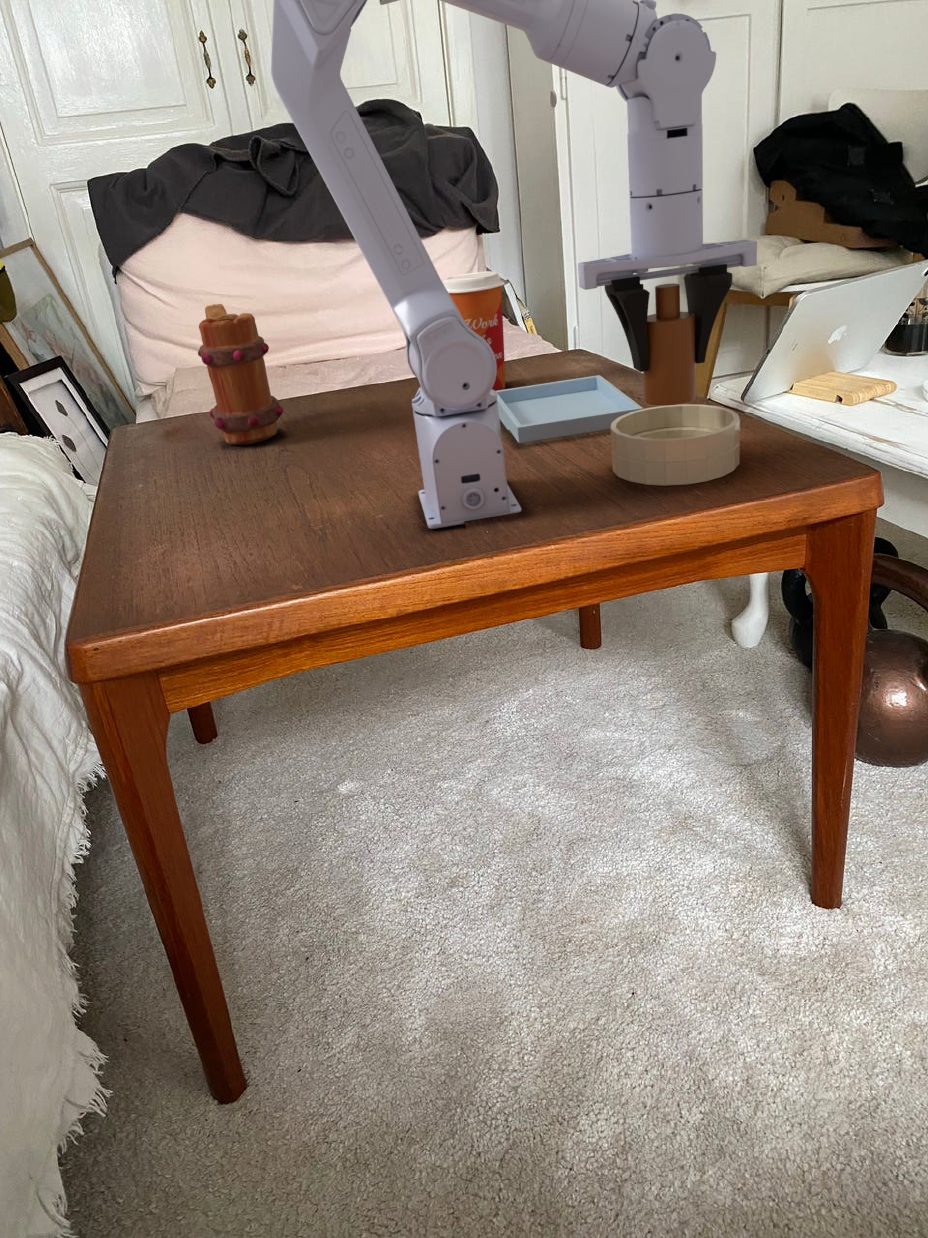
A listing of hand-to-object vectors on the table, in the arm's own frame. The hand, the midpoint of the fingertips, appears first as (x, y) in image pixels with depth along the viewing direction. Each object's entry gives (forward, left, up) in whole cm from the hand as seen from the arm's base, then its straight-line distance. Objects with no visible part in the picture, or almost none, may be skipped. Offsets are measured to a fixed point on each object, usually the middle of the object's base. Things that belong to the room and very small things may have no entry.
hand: (669, 365), depth 82 cm
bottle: (0, 0, -3) cm, 3 cm away
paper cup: (+42, +11, -10) cm, 44 cm away
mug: (+37, +41, -10) cm, 56 cm away
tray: (+23, +5, -9) cm, 25 cm away
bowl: (0, 0, -9) cm, 9 cm away
